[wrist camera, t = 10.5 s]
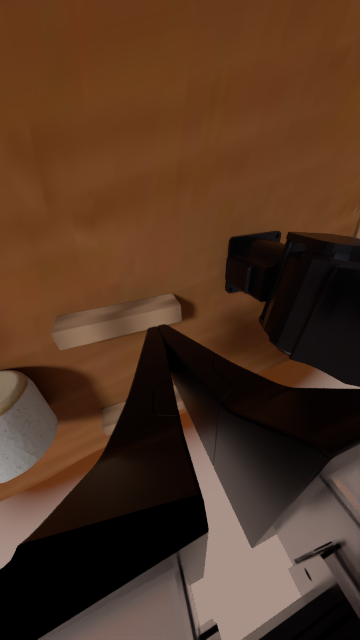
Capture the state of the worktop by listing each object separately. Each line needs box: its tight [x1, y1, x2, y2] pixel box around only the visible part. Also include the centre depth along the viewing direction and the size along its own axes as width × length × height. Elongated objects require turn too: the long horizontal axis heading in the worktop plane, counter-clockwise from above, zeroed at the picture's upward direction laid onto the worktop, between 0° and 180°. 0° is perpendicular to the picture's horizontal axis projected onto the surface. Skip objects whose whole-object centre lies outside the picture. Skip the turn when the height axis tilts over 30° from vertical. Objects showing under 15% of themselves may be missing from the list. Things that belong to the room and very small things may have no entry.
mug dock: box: [51, 293, 186, 436], centre depth 24 cm, size 12×18×3 cm, turn 5°
